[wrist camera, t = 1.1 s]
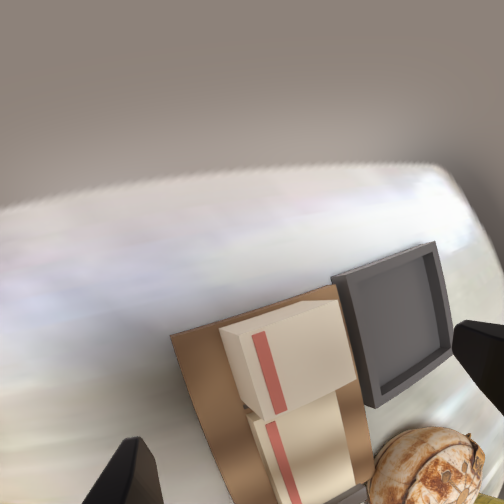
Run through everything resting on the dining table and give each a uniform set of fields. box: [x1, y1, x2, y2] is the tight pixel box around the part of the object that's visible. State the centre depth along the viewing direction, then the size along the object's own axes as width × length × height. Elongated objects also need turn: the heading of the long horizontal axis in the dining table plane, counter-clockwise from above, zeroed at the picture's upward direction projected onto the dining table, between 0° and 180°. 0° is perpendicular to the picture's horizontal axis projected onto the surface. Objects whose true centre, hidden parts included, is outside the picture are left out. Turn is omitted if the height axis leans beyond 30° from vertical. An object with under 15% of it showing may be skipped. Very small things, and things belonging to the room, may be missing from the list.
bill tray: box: [331, 241, 454, 409], centre depth 25 cm, size 11×11×2 cm
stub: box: [219, 300, 356, 422], centre depth 19 cm, size 5×6×5 cm
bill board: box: [170, 284, 376, 504], centre depth 20 cm, size 18×12×4 cm, turn 16°
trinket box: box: [367, 427, 485, 504], centre depth 21 cm, size 13×15×8 cm
